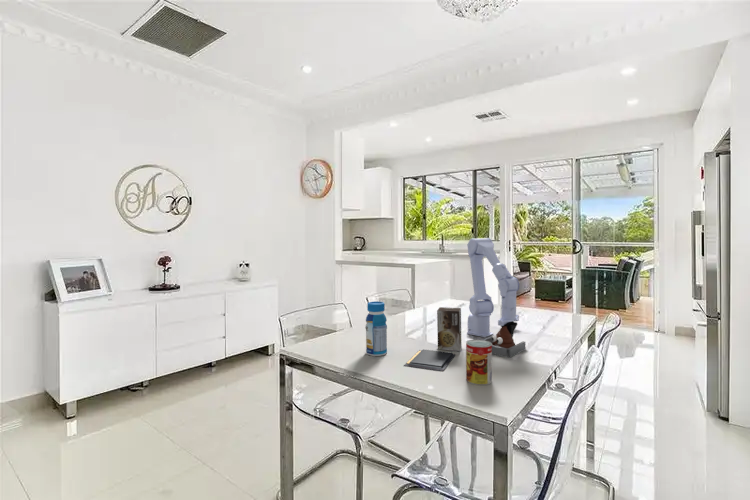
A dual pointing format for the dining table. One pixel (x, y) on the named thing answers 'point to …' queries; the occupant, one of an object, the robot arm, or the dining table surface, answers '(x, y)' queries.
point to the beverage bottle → (376, 329)
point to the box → (505, 351)
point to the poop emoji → (503, 338)
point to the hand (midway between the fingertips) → (508, 339)
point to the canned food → (479, 362)
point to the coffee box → (449, 328)
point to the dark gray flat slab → (430, 360)
